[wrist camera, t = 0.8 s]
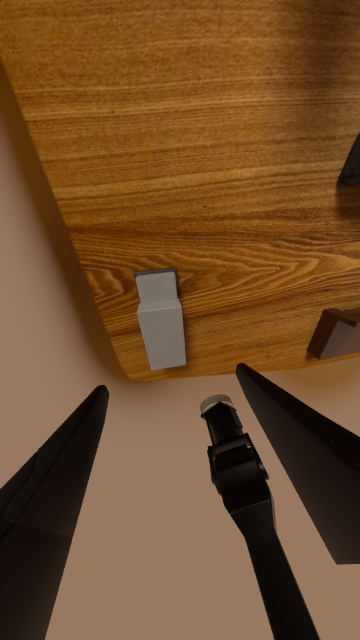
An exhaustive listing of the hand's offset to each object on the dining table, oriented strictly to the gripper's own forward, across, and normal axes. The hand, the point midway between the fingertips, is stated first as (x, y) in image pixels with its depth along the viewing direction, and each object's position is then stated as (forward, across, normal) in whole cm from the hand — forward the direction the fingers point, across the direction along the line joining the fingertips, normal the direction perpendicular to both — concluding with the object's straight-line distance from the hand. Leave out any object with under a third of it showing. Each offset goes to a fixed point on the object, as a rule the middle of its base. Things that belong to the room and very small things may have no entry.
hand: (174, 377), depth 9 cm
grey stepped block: (+11, +1, 0) cm, 11 cm away
